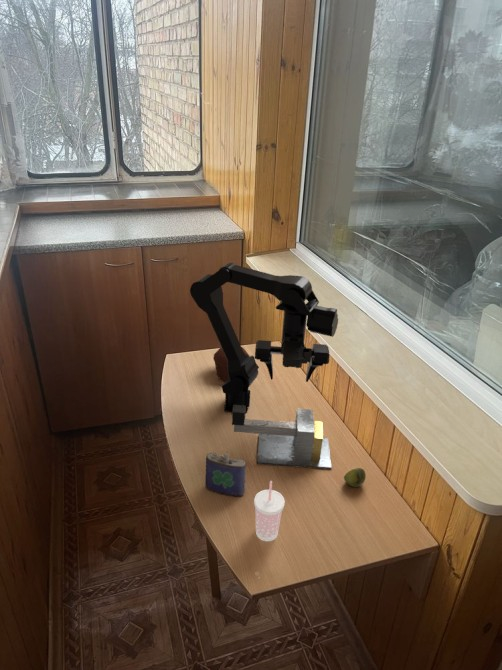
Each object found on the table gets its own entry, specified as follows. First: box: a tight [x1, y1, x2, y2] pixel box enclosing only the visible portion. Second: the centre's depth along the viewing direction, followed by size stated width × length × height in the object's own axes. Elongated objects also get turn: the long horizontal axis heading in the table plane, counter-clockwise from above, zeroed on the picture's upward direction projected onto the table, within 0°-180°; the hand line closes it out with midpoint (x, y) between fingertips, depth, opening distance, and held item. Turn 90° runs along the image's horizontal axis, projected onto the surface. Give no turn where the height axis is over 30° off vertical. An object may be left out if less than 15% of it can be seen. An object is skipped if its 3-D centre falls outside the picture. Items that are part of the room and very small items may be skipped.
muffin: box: [213, 346, 251, 383], centre depth 158 cm, size 12×11×10 cm
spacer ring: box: [312, 420, 324, 461], centre depth 127 cm, size 2×7×7 cm, turn 173°
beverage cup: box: [253, 480, 286, 542], centre depth 103 cm, size 6×6×14 cm
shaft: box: [231, 405, 297, 436], centre depth 125 cm, size 18×3×6 cm, turn 87°
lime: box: [343, 467, 367, 488], centre depth 119 cm, size 4×5×5 cm
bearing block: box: [256, 408, 332, 470], centre depth 127 cm, size 18×11×10 cm, turn 87°
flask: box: [204, 451, 247, 498], centre depth 114 cm, size 9×3×11 cm, turn 74°
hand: (289, 379), depth 135 cm, fingers open, 9 cm apart
